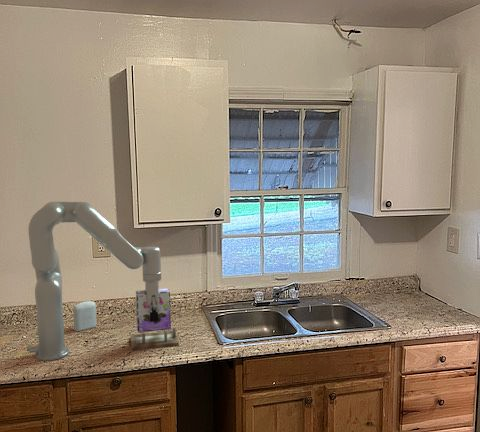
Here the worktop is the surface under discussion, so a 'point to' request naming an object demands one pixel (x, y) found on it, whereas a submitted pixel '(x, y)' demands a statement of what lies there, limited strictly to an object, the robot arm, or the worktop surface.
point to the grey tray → (154, 340)
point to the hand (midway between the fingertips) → (153, 318)
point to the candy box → (144, 311)
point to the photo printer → (84, 315)
